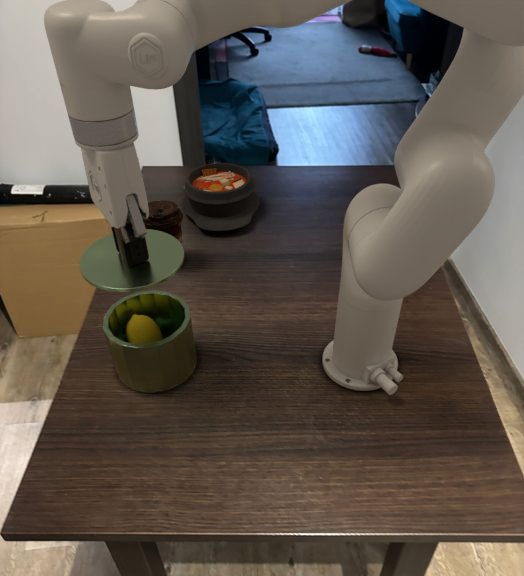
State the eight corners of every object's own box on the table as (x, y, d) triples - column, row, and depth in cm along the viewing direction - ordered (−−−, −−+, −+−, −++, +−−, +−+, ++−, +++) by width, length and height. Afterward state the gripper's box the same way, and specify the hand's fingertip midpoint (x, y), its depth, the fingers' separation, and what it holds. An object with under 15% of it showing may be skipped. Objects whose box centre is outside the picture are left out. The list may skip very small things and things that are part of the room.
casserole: (181, 187, 135) (176, 156, 129) (253, 182, 136) (252, 150, 130) (184, 241, 117) (179, 207, 111) (266, 234, 119) (266, 200, 113)
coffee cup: (167, 280, 107) (157, 224, 98) (139, 265, 111) (127, 210, 102) (196, 259, 112) (189, 204, 103) (168, 246, 116) (159, 192, 107)
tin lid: (202, 272, 74) (197, 228, 69) (102, 309, 69) (88, 264, 64) (159, 225, 83) (152, 183, 78) (67, 254, 78) (53, 211, 73)
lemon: (141, 360, 92) (119, 319, 90) (170, 346, 93) (149, 305, 91) (139, 367, 87) (116, 324, 85) (170, 352, 87) (147, 309, 85)
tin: (210, 371, 89) (204, 325, 82) (135, 405, 84) (122, 359, 77) (176, 326, 97) (168, 280, 90) (105, 354, 92) (91, 309, 85)
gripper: (53, 110, 66) (88, 236, 79) (97, 159, 56) (129, 294, 69) (110, 98, 69) (135, 222, 81) (162, 142, 59) (181, 275, 72)
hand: (132, 254), depth 75 cm, fingers closed on tin lid, 3 cm apart
